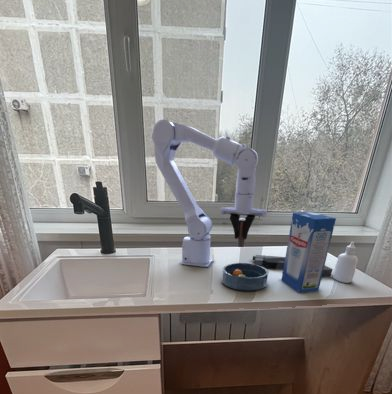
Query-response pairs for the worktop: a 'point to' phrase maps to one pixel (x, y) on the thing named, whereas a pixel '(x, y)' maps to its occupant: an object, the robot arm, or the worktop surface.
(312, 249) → the milk carton
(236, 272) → the bead
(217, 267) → the worktop surface
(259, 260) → the pistol
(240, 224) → the stirring stick
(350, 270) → the eye dropper bottle
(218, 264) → the worktop surface
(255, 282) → the bowl
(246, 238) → the robot arm
